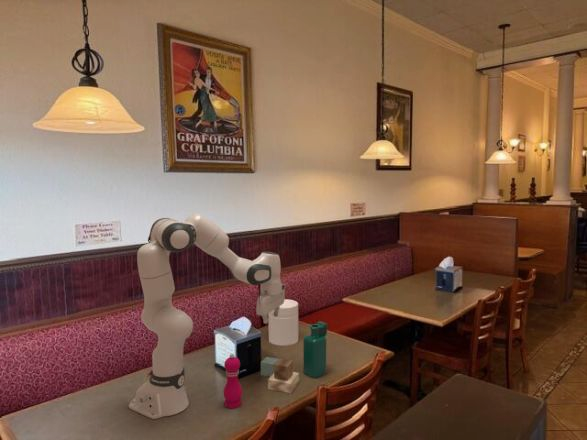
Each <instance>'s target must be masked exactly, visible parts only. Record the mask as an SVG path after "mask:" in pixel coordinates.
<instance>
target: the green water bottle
mask: <svg viewBox="0 0 587 440" xmlns="http://www.w3.org/2000/svg"><path fill="white" fill-rule="evenodd" d="M308 328H309V329H310V333H309V334H306V335H305V336H304V337H303V342H302V343H303V346H302V351H303V356H302V357H303V361H302V362H303V363H302V365H303V369H302V370H303V373H304V374H305V375H307V376H309V377H311V378H314V379H315V378H316V379H317V378H319V377H321V376H324V375H325V374H327V337H326V336H327V334H328V323H326V322H323V321H317V323H314V324H313V323H312V324H310V325H308Z"/></svg>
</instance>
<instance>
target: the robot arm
mask: <svg viewBox="0 0 587 440" xmlns="http://www.w3.org/2000/svg"><path fill="white" fill-rule="evenodd" d="M147 242H148V243H145V244H144V245H142V246H140V248H138V249H137V250H138V251H137V253H136V255H137V256H136V257H137V262H136V263H137V269H138V270H137V271H138V275H139V280H140V284H141V288H142V293H143V301H144V303H143V305H144V306H143V310H142V311H141V313H140V320H141V322H142V324H143V325H144V326H145V327H146V328H147V330H149V331H151V332H152V333H155V334H157V339H158V340H157V345H156V347H155V348H154V349H153V350H152V355H151V357H152V359H151V360H152V369H151V371H150V372H148V373H146V375H147V376H146V377H147V378H148V377H149V379H147V381H145V382H144V383H143V384H141V385H140V386H139V388H138V389H136V392H135V397H134V398H133V399H132V400H131V401H130V402H129V404H128V408H129V410H132V411H134V412H136V413H138V414H141V415H143V416H145V417H147V418H149V419H152V420H157V419H161V418H164V417H168V416H169V417H171V416H173V415H177V414H180V413H181V412H183V411H185V410H186V409H187V408H188V406H189V403H190V401H189V399H188V395H187V391H186V386H185V378H186V377H185V376H186V375H185V367H184V346H185V342H186V339H188V338H189V337H190V335H191V334H192V332H193V328H194V321H193V319H192V318H191V316H189V314H187V313H186V312H185V311H183V310H181V309H178V308H176V307H175V306H174V305H173V303H172V297H173V294H174V292H175V289H176V287H175V282H174V277H173V273H172V268H171V264H170V254H171V253H181V252H184V251H186V250H187V249H188V248H189V247H190V246H191V245H193V244H194V245H195V246H196V247H197V248H199V249H200V250H202V251H203V252H205V253H206V254H207V255H209V256H212V257H214V258H216V259H217V260H219V261H220V262H221V264H223V265H224V266H226V267H227V269H228V270H229V273H230V274H231V275H230V276H231V277H232V278H233V279H234V280H236V281H239V282H243V283H245V284H248V285H252V286H259V285H260V293H259V297H257V299H256V311H255V313H256V315H257V316H261V317H262V319H263V324H269V312H271V311H272V310H274V309H275V310H274V313H273V314H274V315H273V316H274V317H277V316H278V312H279V309H280V305H282V304H283V303H284V300H285V299H286V291H285V289H286V284H285V283H282V280H281V269H282V268H281V266H282V265H281V258H280V255H279V254H278V253H276V252H272V251H262V252H261V254H260V255H259V256H258V257H257V258H255V259H253V260H250V259H247V258H245V257H241V256H238V255H237V254H236V253H235V252H234V251H232V250H231V249H230V248H229V243H230V237H229V236H228V235H227V233H226V232H225V231H224V230H223V229H222V228H221V227H220V226H219V225H218V224H216V223H215V222H213V221H212V220H211V219H209V218H208V217H206V216H204V215H203V214H201V213H192V214H191V215H189V216H188V217H187V218H186V219H185V220H184V221H182V222H181V221H179V220H176V219H173V218H172V219H171V218H169V217H162V218H159V219H157V220H155V221H154V222H153V224H152V225H151V227H150V231H149V235H148V237H147Z"/></svg>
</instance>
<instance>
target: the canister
mask: <svg viewBox="0 0 587 440" xmlns="http://www.w3.org/2000/svg"><path fill="white" fill-rule="evenodd" d="M274 310H275V309H274ZM274 310H272V311H271V312H269V313H268V319H269V320H268V321H269V322H268V342H269V343H270V344H271V345H275V346H281V347H282V346H284V347H285V346H292V345H294V344H297V342H298V341H299V302H297V301H296V300H294V299H289V298H288V299H287V298H285V300H284V303H283V304H282V305H280V309H279V312H278V316H277V317H274V316H273V315H274V314H273V313H274Z"/></svg>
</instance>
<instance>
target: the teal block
mask: <svg viewBox="0 0 587 440" xmlns="http://www.w3.org/2000/svg"><path fill="white" fill-rule="evenodd" d="M279 359H280V358H276V357H269V356H266V357H264V358H263V360H261V361H260V376H263V375H264V376H263V377H268V376H269V378H270V377H271V376H272V375H273V374H274V364H275V363H276V362H277V361H278V360H279Z"/></svg>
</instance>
